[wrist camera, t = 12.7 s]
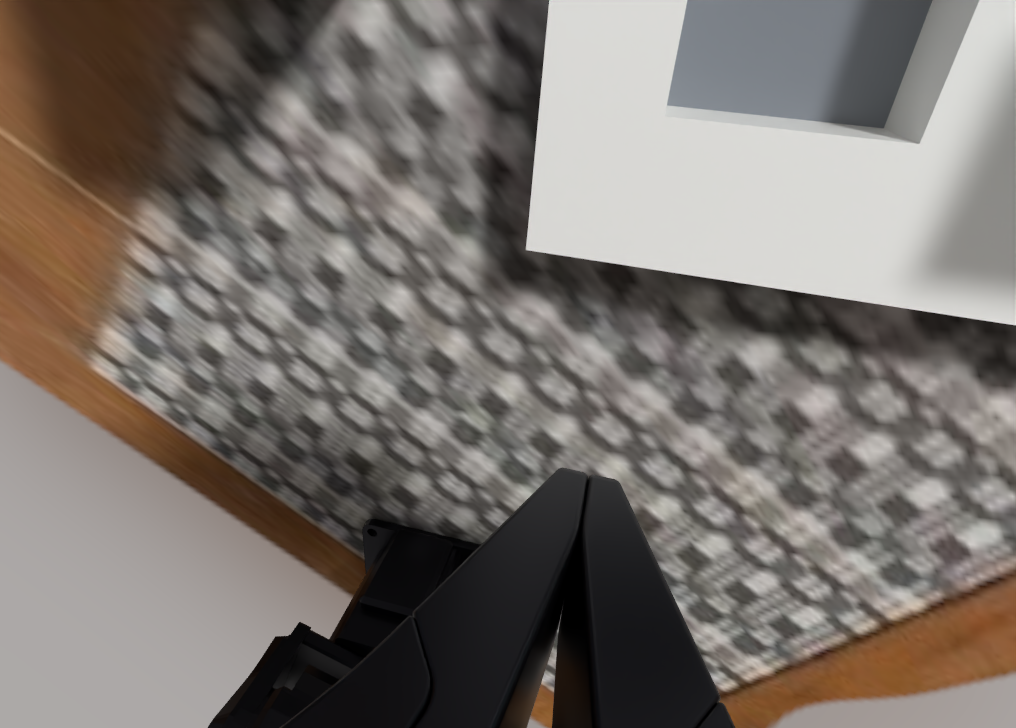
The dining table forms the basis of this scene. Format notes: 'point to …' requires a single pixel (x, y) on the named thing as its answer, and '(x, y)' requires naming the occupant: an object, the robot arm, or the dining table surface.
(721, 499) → the dining table surface
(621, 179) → the square hole tray
